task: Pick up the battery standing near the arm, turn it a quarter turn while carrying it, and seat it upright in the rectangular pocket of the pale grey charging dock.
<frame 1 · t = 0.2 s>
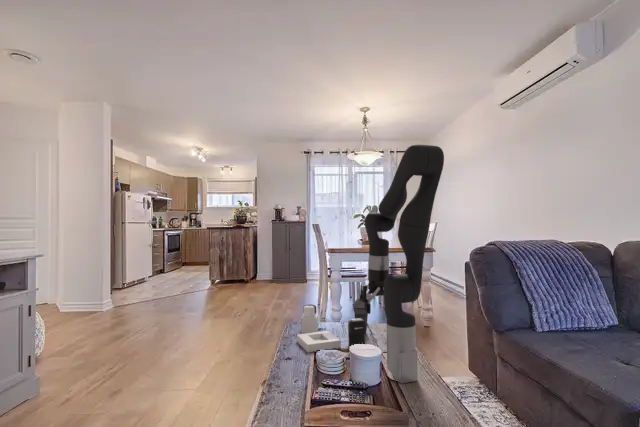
hand: (377, 311, 135), 18 cm above the table, tool pointing down, fingers open, 8 cm apart
medicine bottle: (309, 331, 172), on the table
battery: (357, 348, 149), on the table
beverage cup: (361, 333, 169), on the table
charging dock: (318, 344, 153), on the table
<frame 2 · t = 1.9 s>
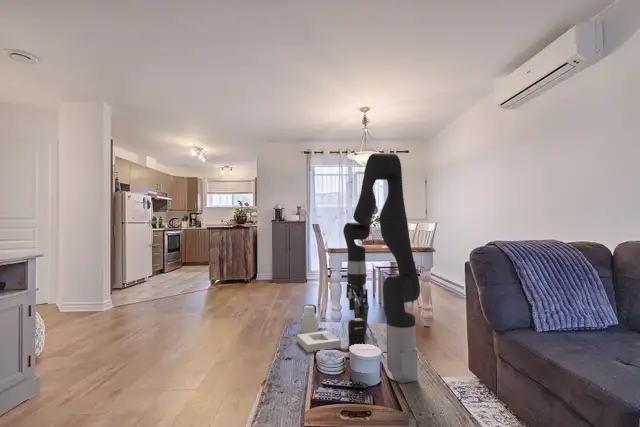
hand: (356, 312, 149), 14 cm above the table, tool pointing down, fingers open, 8 cm apart
nothing on the table moved.
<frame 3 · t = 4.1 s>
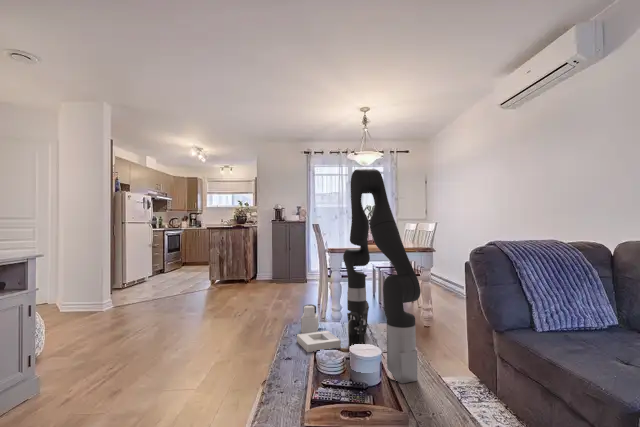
hand: (357, 341, 149), 3 cm above the table, tool pointing down, fingers closed on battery, 4 cm apart
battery: (357, 348, 149), on the table, touching gripper
everything else where it was.
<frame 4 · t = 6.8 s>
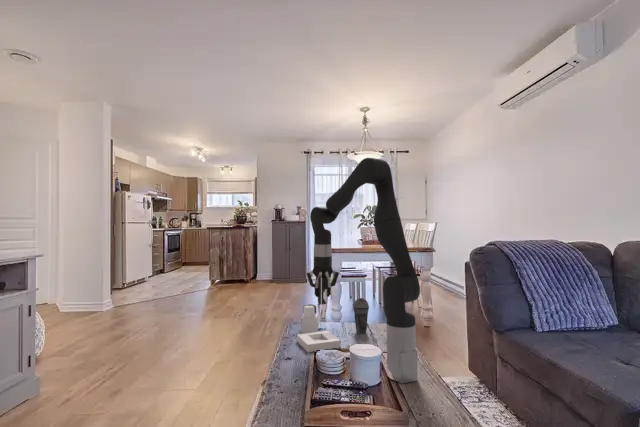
hand: (322, 296, 153), 20 cm above the table, tool pointing down, fingers closed on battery, 4 cm apart
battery: (323, 303, 153), point 17 cm above the table, touching gripper
everything else where it was.
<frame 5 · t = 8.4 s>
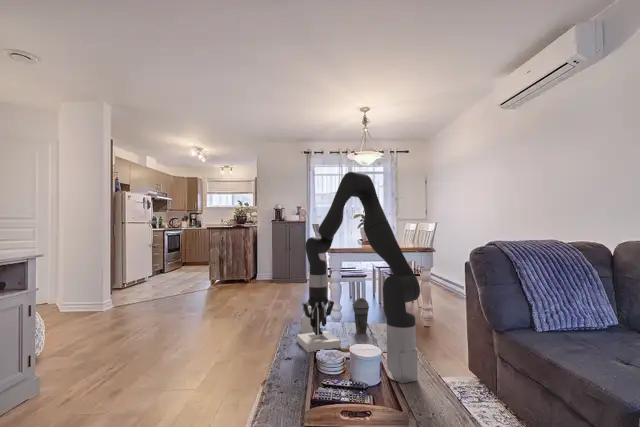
hand: (318, 326, 154), 7 cm above the table, tool pointing down, fingers closed on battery, 4 cm apart
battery: (318, 333, 154), point 4 cm above the table, touching gripper
everything else where it was.
when the fingers open (5 cm above the table, at t = 9.7 s): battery stays where it is, resting on charging dock.
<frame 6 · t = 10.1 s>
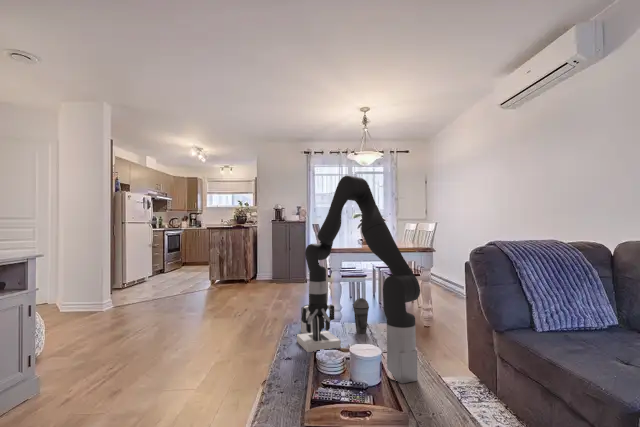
hand: (318, 331, 154), 5 cm above the table, tool pointing down, fingers open, 7 cm apart
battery: (319, 342, 153), point 1 cm above the table, touching charging dock
everything else where it was.
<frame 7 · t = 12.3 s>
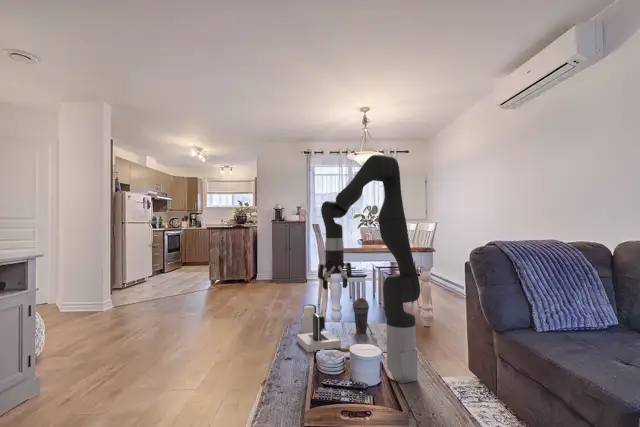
hand: (335, 288, 153), 23 cm above the table, tool pointing down, fingers open, 8 cm apart
nothing on the table moved.
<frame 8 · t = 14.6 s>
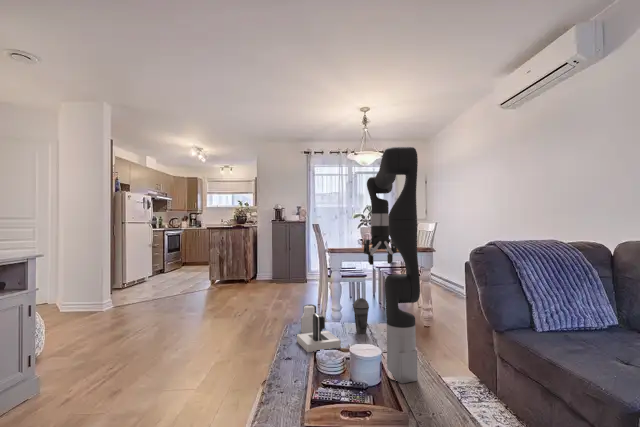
hand: (380, 264, 153), 33 cm above the table, tool pointing down, fingers open, 8 cm apart
nothing on the table moved.
at the end: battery 0.4 cm off-centre on the charging dock, point 0.8 cm above the charging dock's base; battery tilted 0°; the gripper is holding nothing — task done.
